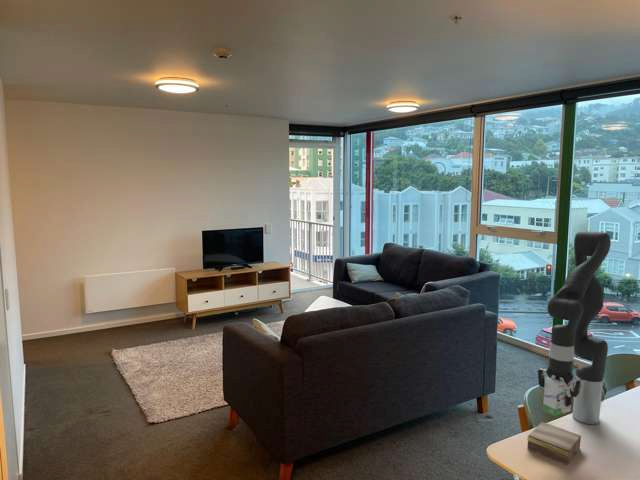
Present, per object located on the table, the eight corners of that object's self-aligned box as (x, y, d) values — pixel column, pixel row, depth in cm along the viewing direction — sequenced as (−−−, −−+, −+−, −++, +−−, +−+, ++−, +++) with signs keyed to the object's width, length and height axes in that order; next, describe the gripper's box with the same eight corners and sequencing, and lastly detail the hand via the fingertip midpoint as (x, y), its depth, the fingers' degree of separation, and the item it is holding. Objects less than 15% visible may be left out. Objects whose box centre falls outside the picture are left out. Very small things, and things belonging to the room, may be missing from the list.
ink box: (554, 416, 158) (557, 383, 157) (541, 410, 163) (544, 378, 161) (571, 411, 162) (574, 379, 161) (558, 405, 167) (561, 373, 165)
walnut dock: (541, 434, 174) (542, 421, 173) (579, 448, 164) (580, 435, 164) (526, 449, 164) (527, 435, 163) (566, 465, 155) (567, 451, 154)
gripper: (587, 359, 157) (583, 406, 160) (543, 347, 167) (539, 392, 170) (580, 365, 152) (576, 413, 154) (535, 353, 162) (531, 399, 165)
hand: (557, 402), depth 162 cm, fingers closed on ink box, 6 cm apart
